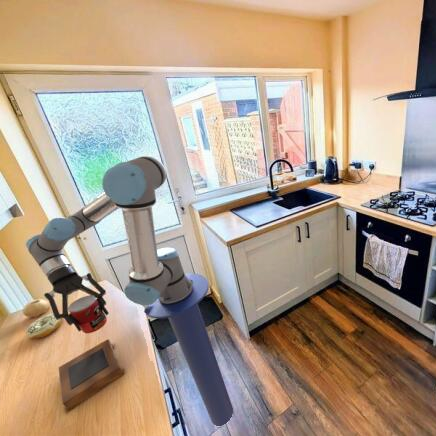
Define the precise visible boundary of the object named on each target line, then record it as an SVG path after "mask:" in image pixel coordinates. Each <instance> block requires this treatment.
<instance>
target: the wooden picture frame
mask: <svg viewBox="0 0 436 436" xmlns="http://www.w3.org/2000/svg"><path fill="white" fill-rule="evenodd" d="M114 349H115V348H114V346H113V344H112V342H111V340H110V339H109V338H107V339H105V340H104V341H102V342H100V343H99V344H97V345H95V346H94V347H91V348H90V349H88V350H86V351H84V352H83V353H81V354H79V355H78V356H76V357H74V358H72V359H71V360H69V361H67V362H65V363H64V364H62V365H60V366H59V367H58V374H59V383H60V391H61V400H62V405H63V406H64V407H65V408H66V410H67V411H71V410H72V409H74V408H75V407H76V406H78V405H80V404H81V403H83V402H84V401H86V400H87V399H89V398H90V397H92V396H93V395H94V394H96V393H98V392H99V391H101V390H102V389H103V388H105V387H107V386H108V385H110V384H111V383H113V381H115V380H117V379H119V377H121V376H123V375H124V371H123V369H122V367H121V366H120V365H121V364H120V362H119V360H118V358H117V355H116V352H115V351H114Z"/></svg>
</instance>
